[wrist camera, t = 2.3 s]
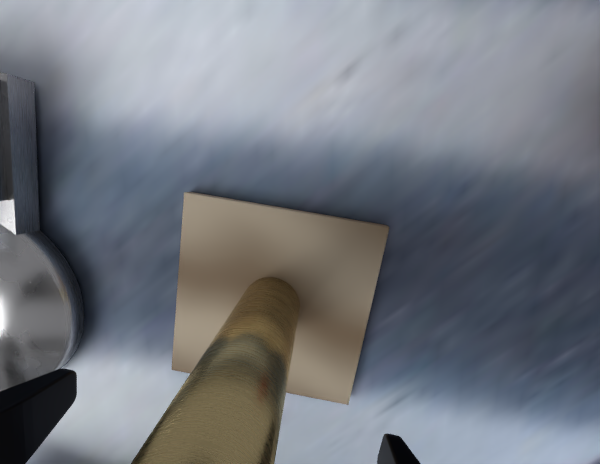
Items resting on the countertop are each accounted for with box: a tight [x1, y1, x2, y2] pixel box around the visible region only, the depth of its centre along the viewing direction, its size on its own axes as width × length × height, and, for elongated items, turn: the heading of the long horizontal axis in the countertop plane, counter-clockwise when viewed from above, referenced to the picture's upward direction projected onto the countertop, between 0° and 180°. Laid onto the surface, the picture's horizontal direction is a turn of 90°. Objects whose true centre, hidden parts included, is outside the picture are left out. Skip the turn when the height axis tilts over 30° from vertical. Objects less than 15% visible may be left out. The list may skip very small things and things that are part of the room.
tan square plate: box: [172, 192, 389, 405], centre depth 15 cm, size 10×10×1 cm
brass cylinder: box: [131, 277, 300, 464], centre depth 10 cm, size 3×3×10 cm
